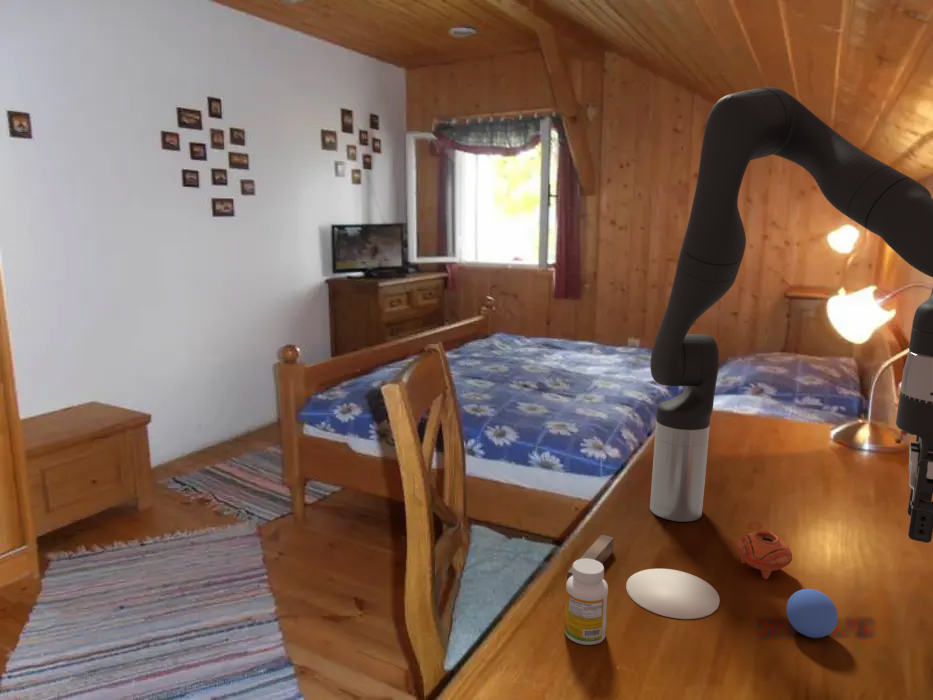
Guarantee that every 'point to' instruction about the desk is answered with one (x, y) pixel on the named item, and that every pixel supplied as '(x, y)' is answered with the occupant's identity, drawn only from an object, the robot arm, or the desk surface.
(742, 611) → the desk surface
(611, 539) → the wall
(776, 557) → the pot
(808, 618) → the ball
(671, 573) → the white round plate
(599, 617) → the supplement bottle
